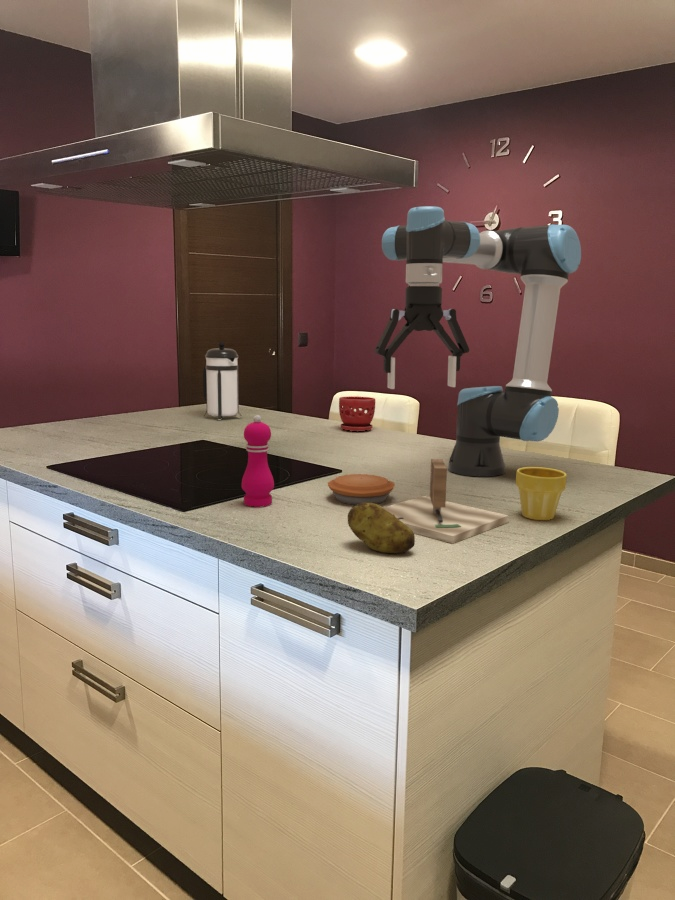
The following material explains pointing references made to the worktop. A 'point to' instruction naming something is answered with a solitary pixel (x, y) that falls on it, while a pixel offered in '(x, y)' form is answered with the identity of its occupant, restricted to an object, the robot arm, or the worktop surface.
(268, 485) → the pepper mill
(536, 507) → the plant pot
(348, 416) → the plant pot
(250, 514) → the worktop surface
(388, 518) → the potato
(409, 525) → the plate
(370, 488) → the pie
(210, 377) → the coffee press
